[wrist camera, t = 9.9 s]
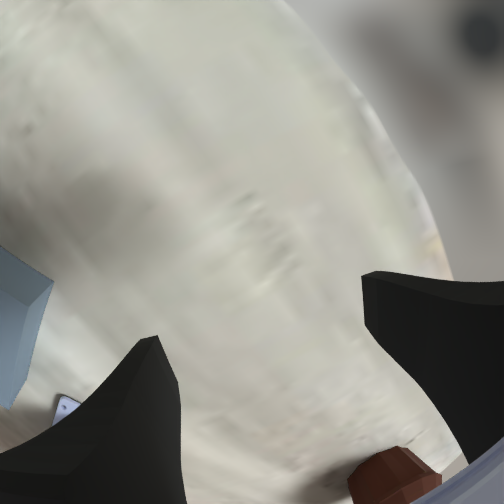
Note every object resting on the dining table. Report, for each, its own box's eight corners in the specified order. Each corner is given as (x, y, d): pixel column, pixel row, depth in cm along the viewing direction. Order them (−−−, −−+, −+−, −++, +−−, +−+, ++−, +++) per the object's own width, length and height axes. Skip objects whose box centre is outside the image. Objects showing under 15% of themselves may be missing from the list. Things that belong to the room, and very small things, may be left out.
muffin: (430, 434, 31) (472, 482, 21) (387, 486, 33) (417, 532, 23) (364, 443, 27) (407, 509, 18) (319, 498, 30) (347, 557, 20)
